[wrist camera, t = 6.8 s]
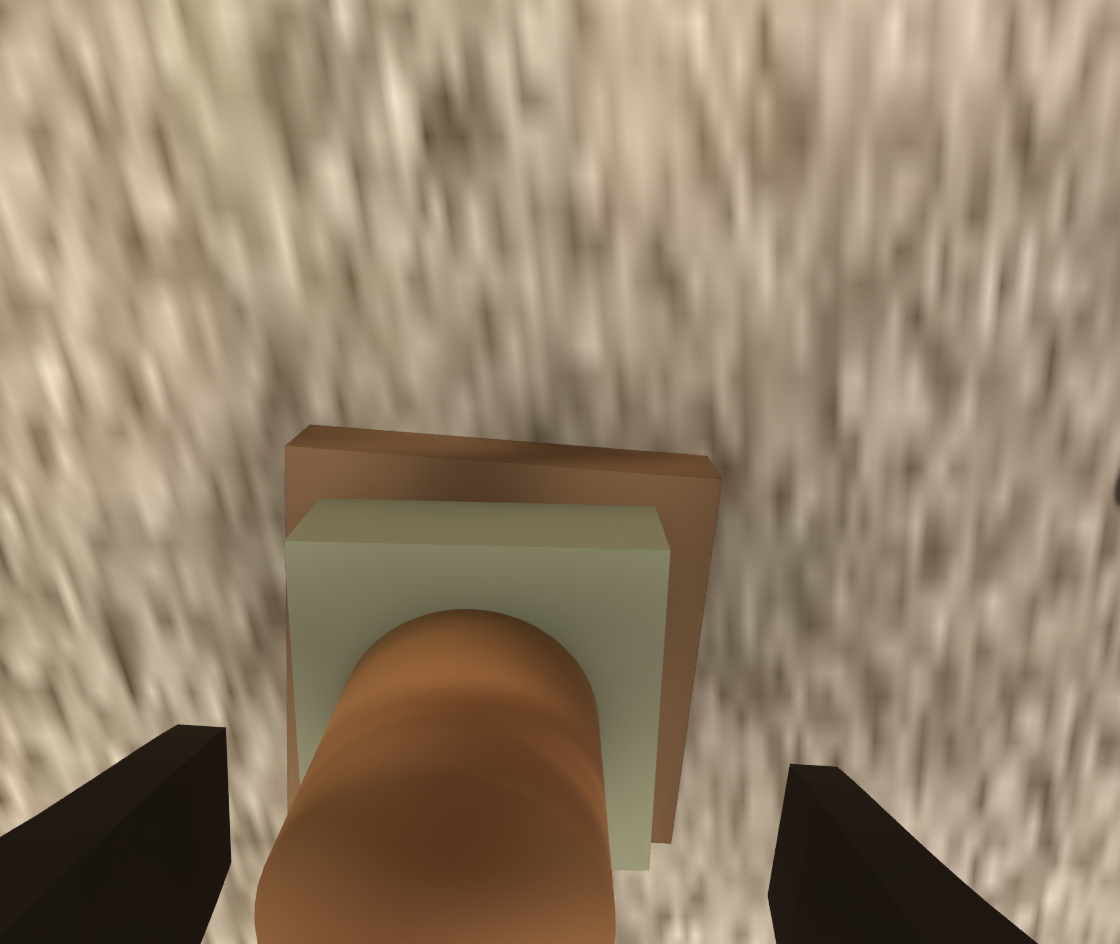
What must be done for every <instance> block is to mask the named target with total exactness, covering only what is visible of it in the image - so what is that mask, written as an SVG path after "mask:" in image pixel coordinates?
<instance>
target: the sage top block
mask: <svg viewBox="0 0 1120 944" xmlns="http://www.w3.org/2000/svg"><path fill="white" fill-rule="evenodd" d="M284 551H285V566H286V581H287V597H288V612H289V627H290V642H291V657H292V673H293V688H294V703H295V718H296V734H297V749H298V764H299V779H300V786H301V784H302V781H303V779H304V777H305V775H306V772H307V770H308V768H309V766H310V763H311V761H312V759H313V757H314V755H315V752H316V750H317V748H318V746H319V743H320V741H321V739H322V737H323V735H324V732H325V730H326V728H327V726H328V723H329V721H330V719H331V717H332V714H333V712H334V710H335V708H336V706H337V703H338V701H339V699H340V697H341V694H342V692H343V690H344V688H345V685H346V683H347V681H348V679H349V677H350V675H351V673H352V671H353V669H354V667H355V666H356V664H357V663H358V662H359V660H360V659H361V657H362V656H363V655H364V653H365V652H366V651H367V650H368V649H369V648H370V647H371V646H372V645H373V644H374V643H375V642H376V641H377V640H379V639H380V638H381V637H383V636H384V635H385V634H386V633H388V632H389V631H391V630H393V629H394V628H396V627H398V626H399V625H401V624H403V623H405V622H408V621H410V620H412V619H415V618H417V617H420V616H423V615H427V614H430V613H434V612H440V611H446V610H453V609H476V610H488V611H492V612H497V613H502V614H506V615H509V616H512V617H515V618H518V619H521V620H523V621H525V622H527V623H529V624H531V625H533V626H536V627H537V628H539V629H541V630H542V631H544V632H545V633H547V634H548V635H550V636H551V637H553V638H554V639H555V640H556V641H557V642H558V643H560V644H561V645H562V646H563V647H564V648H565V649H566V650H567V651H568V652H569V653H570V654H571V655H572V656H573V658H574V659H575V660H576V661H577V663H578V664H579V666H580V667H581V669H582V670H583V672H584V673H585V675H586V677H587V679H588V681H589V683H590V685H591V688H592V691H593V694H594V697H595V700H596V705H597V710H598V716H599V728H600V740H601V752H602V763H603V775H604V787H605V798H606V810H607V822H608V834H609V845H610V857H611V869H612V870H649V862H650V847H651V833H652V818H653V803H654V788H655V773H656V758H657V743H658V728H659V713H660V698H661V683H662V669H663V654H664V639H665V624H666V609H667V594H668V579H669V564H670V548H669V545H668V542H667V539H666V536H665V533H664V530H663V527H662V524H661V521H660V518H659V515H658V512H657V509H656V506H622V505H581V504H540V503H499V502H458V501H417V500H376V499H335V498H319V499H318V501H317V502H316V503H315V504H314V505H313V507H312V508H311V509H310V510H309V511H308V513H307V514H306V515H305V516H304V517H303V519H302V520H301V521H300V522H299V523H298V525H297V526H296V527H295V528H294V529H293V531H292V532H291V533H290V534H289V535H288V537H287V538H286V539H285V540H284Z"/></svg>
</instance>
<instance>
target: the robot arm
mask: <svg viewBox="0 0 1120 944" xmlns="http://www.w3.org/2000/svg"><path fill="white" fill-rule="evenodd" d="M230 865H231V842H230V817H229V792H228V767H227V743H226V727H210V726H195V725H179V724H178V725H176V726H174V727H173V728H171V729H169V730H167V731H166V732H164V733H162V734H161V735H159V736H158V737H156V738H154V739H153V740H151V741H150V742H148V743H147V744H145V745H144V746H142V747H140V748H139V749H137V750H136V751H134V752H133V753H131V754H130V755H128V756H127V757H125V758H124V759H122V760H121V761H119V762H118V763H116V764H115V765H113V766H112V767H110V768H109V769H107V770H106V771H104V772H103V773H101V774H100V775H98V776H97V777H95V778H93V779H92V780H90V781H89V782H87V783H86V784H84V785H83V786H81V787H80V788H78V789H76V790H75V791H73V792H72V793H70V794H69V795H67V796H66V797H64V798H63V799H61V800H59V801H58V802H56V803H55V804H53V805H52V806H50V807H49V808H47V809H46V810H44V811H42V812H41V813H39V814H38V815H36V816H35V817H33V818H31V819H30V820H28V821H26V822H25V823H23V824H21V825H19V826H18V827H16V828H14V829H13V830H11V831H9V832H8V833H6V834H4V835H3V836H1V837H0V944H200V943H201V941H202V939H203V937H204V934H205V931H206V929H207V926H208V924H209V921H210V919H211V916H212V914H213V911H214V908H215V906H216V903H217V900H218V898H219V895H220V892H221V889H222V887H223V884H224V881H225V878H226V876H227V873H228V870H229V867H230ZM768 900H769V906H770V911H771V917H772V922H773V928H774V933H775V939H776V944H1038V943H1036V942H1035V941H1034V940H1033V939H1031V938H1030V937H1029V936H1028V935H1026V934H1025V933H1024V932H1023V931H1022V930H1020V929H1019V928H1018V927H1017V926H1015V925H1014V924H1013V923H1012V922H1011V921H1009V920H1008V919H1007V918H1006V917H1004V916H1003V915H1002V914H1001V913H999V912H998V911H997V910H996V909H995V908H993V907H992V906H991V905H990V904H988V903H987V902H986V901H985V900H984V899H983V898H981V897H980V896H979V895H978V894H977V893H976V892H974V891H973V890H972V889H971V888H970V887H969V886H967V885H966V884H965V883H964V882H963V881H962V880H961V879H959V878H958V877H957V876H956V875H955V874H954V873H953V872H952V871H950V870H949V869H948V868H947V867H946V866H945V865H944V864H943V863H941V862H940V861H939V860H938V859H937V858H936V857H935V856H934V855H933V854H932V853H930V852H929V851H928V850H927V849H926V848H925V847H924V846H923V845H922V844H921V843H920V842H918V841H917V840H916V839H915V838H914V837H913V836H912V835H911V834H910V833H909V832H908V831H907V830H906V829H904V828H903V827H902V826H901V825H900V824H899V823H898V822H897V821H896V820H895V819H894V818H893V817H892V816H891V815H890V814H888V813H887V812H886V811H885V810H884V809H883V808H882V807H881V806H880V805H879V804H878V803H877V802H876V801H875V800H874V799H872V798H871V797H870V796H869V795H868V794H867V793H866V792H865V791H864V790H863V789H862V788H861V787H860V786H859V785H857V784H856V783H855V782H854V781H853V780H852V779H851V778H850V777H849V776H847V775H846V774H845V773H844V772H843V771H842V770H840V769H839V768H838V767H832V766H816V765H801V764H790V767H789V772H788V778H787V784H786V790H785V796H784V802H783V808H782V814H781V819H780V825H779V831H778V837H777V843H776V849H775V855H774V861H773V866H772V872H771V878H770V884H769V890H768Z"/></svg>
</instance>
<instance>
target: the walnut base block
mask: <svg viewBox="0 0 1120 944" xmlns="http://www.w3.org/2000/svg"><path fill="white" fill-rule="evenodd" d="M285 477H286V538H287V537H288V535H289V534H290V533H291V532H292V531H293V529H294V528H295V527H296V526H297V525H298V523H299V522H300V521H301V520H302V519H303V517H304V516H305V515H306V514H307V513H308V511H309V510H310V509H311V508H312V507H313V505H314V504H315V503H316V502H317V501H318V499H319V498H335V499H376V500H417V501H458V502H499V503H540V504H581V505H622V506H656V509H657V512H658V515H659V518H660V521H661V524H662V527H663V530H664V533H665V536H666V539H667V542H668V545H669V548H670V564H669V579H668V594H667V609H666V624H665V639H664V654H663V669H662V683H661V698H660V713H659V728H658V743H657V758H656V773H655V788H654V803H653V818H652V833H651V842H652V843H667V844H671V841H672V834H673V826H674V819H675V812H676V805H677V798H678V791H679V783H680V776H681V769H682V762H683V755H684V748H685V741H686V733H687V726H688V719H689V712H690V705H691V698H692V691H693V683H694V676H695V669H696V662H697V655H698V648H699V640H700V633H701V626H702V619H703V612H704V605H705V598H706V590H707V583H708V576H709V569H710V562H711V555H712V547H713V540H714V533H715V526H716V519H717V512H718V505H719V497H720V490H721V483H722V479H721V478H720V476H719V474H718V473H717V471H716V470H715V468H714V466H713V465H712V463H711V462H710V460H709V458H708V457H707V456H701V455H688V454H675V453H663V452H650V451H637V450H625V449H612V448H599V447H587V446H574V445H561V444H548V443H536V442H523V441H510V440H498V439H485V438H472V437H459V436H447V435H434V434H421V433H409V432H396V431H383V430H370V429H358V428H345V427H332V426H320V425H309V426H308V427H307V428H306V429H305V430H303V431H302V432H301V433H300V434H299V435H298V436H296V437H295V438H294V439H293V440H292V441H291V442H289V443H288V444H287V445H286V446H285ZM286 638H287V799H288V813H289V810H290V808H291V806H292V804H293V801H294V799H295V797H296V795H297V792H298V790H299V788H300V779H299V764H298V749H297V734H296V718H295V703H294V688H293V673H292V657H291V642H290V627H289V612H288V597H287V581H286Z"/></svg>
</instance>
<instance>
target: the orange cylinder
mask: <svg viewBox="0 0 1120 944" xmlns="http://www.w3.org/2000/svg"><path fill="white" fill-rule="evenodd" d="M255 929H256V935H257V942H258V944H614V940H615V933H616V925H615V904H614V892H613V880H612V869H611V857H610V845H609V834H608V822H607V810H606V798H605V787H604V775H603V763H602V752H601V740H600V728H599V716H598V710H597V705H596V700H595V697H594V694H593V691H592V688H591V685H590V683H589V681H588V679H587V677H586V675H585V673H584V672H583V670H582V669H581V667H580V666H579V664H578V663H577V661H576V660H575V659H574V658H573V656H572V655H571V654H570V653H569V652H568V651H567V650H566V649H565V648H564V647H563V646H562V645H561V644H560V643H558V642H557V641H556V640H555V639H554V638H553V637H551V636H550V635H548V634H547V633H545V632H544V631H542V630H541V629H539V628H537V627H536V626H533V625H531V624H529V623H527V622H525V621H523V620H521V619H518V618H515V617H512V616H509V615H506V614H502V613H497V612H492V611H488V610H476V609H453V610H446V611H440V612H434V613H430V614H427V615H423V616H420V617H417V618H415V619H412V620H410V621H408V622H405V623H403V624H401V625H399V626H398V627H396V628H394V629H393V630H391V631H389V632H388V633H386V634H385V635H384V636H383V637H381V638H380V639H379V640H377V641H376V642H375V643H374V644H373V645H372V646H371V647H370V648H369V649H368V650H367V651H366V652H365V653H364V655H363V656H362V657H361V659H360V660H359V662H358V663H357V664H356V666H355V667H354V669H353V671H352V673H351V675H350V677H349V679H348V681H347V683H346V685H345V688H344V690H343V692H342V694H341V697H340V699H339V701H338V703H337V706H336V708H335V710H334V712H333V714H332V717H331V719H330V721H329V723H328V726H327V728H326V730H325V732H324V735H323V737H322V739H321V741H320V743H319V746H318V748H317V750H316V752H315V755H314V757H313V759H312V761H311V763H310V766H309V768H308V770H307V772H306V775H305V777H304V779H303V781H302V784H301V786H300V788H299V790H298V792H297V795H296V797H295V799H294V801H293V804H292V806H291V808H290V810H289V813H288V815H287V817H286V819H285V821H284V824H283V826H282V828H281V830H280V833H279V835H278V837H277V839H276V842H275V844H274V846H273V848H272V850H271V853H270V855H269V857H268V859H267V862H266V864H265V866H264V869H263V872H262V875H261V878H260V881H259V884H258V888H257V894H256V900H255Z"/></svg>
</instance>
